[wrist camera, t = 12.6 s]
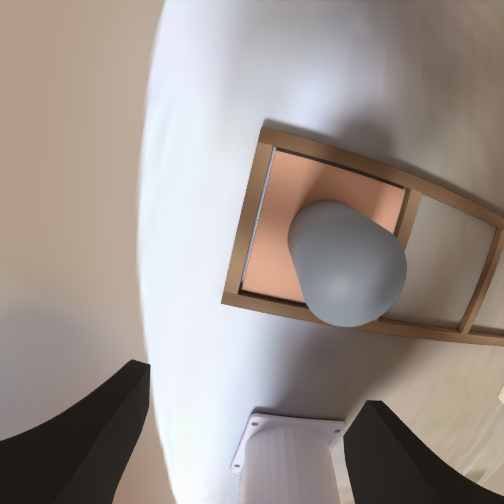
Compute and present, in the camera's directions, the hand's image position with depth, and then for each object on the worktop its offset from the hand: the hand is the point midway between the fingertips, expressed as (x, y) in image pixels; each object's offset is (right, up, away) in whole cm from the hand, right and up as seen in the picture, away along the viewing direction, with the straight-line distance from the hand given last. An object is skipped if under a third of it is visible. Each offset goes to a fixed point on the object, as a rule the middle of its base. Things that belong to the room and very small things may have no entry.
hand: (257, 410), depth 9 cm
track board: (+13, +4, +8) cm, 16 cm away
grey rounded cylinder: (+4, +6, +8) cm, 10 cm away
